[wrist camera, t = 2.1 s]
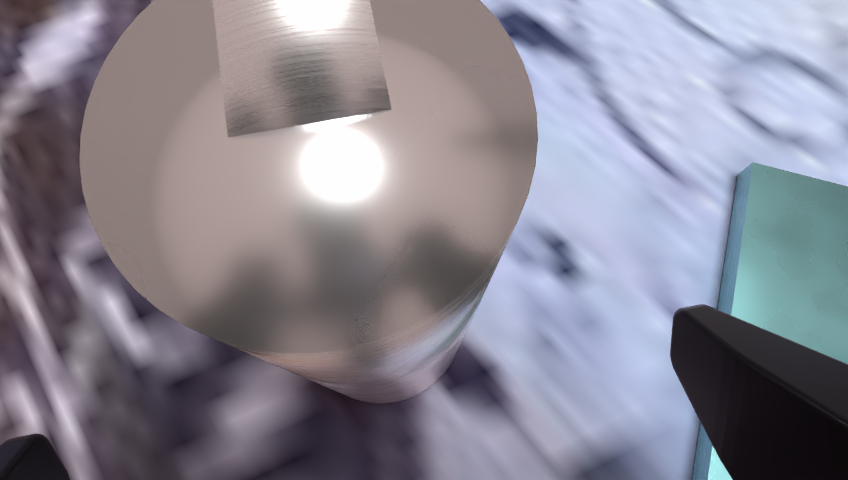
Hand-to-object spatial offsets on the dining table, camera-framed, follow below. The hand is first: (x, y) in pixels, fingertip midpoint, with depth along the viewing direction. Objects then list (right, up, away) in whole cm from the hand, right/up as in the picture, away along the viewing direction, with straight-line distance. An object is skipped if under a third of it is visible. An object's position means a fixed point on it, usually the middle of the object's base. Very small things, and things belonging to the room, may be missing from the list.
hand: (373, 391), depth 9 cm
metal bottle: (-1, +1, +11) cm, 11 cm away
